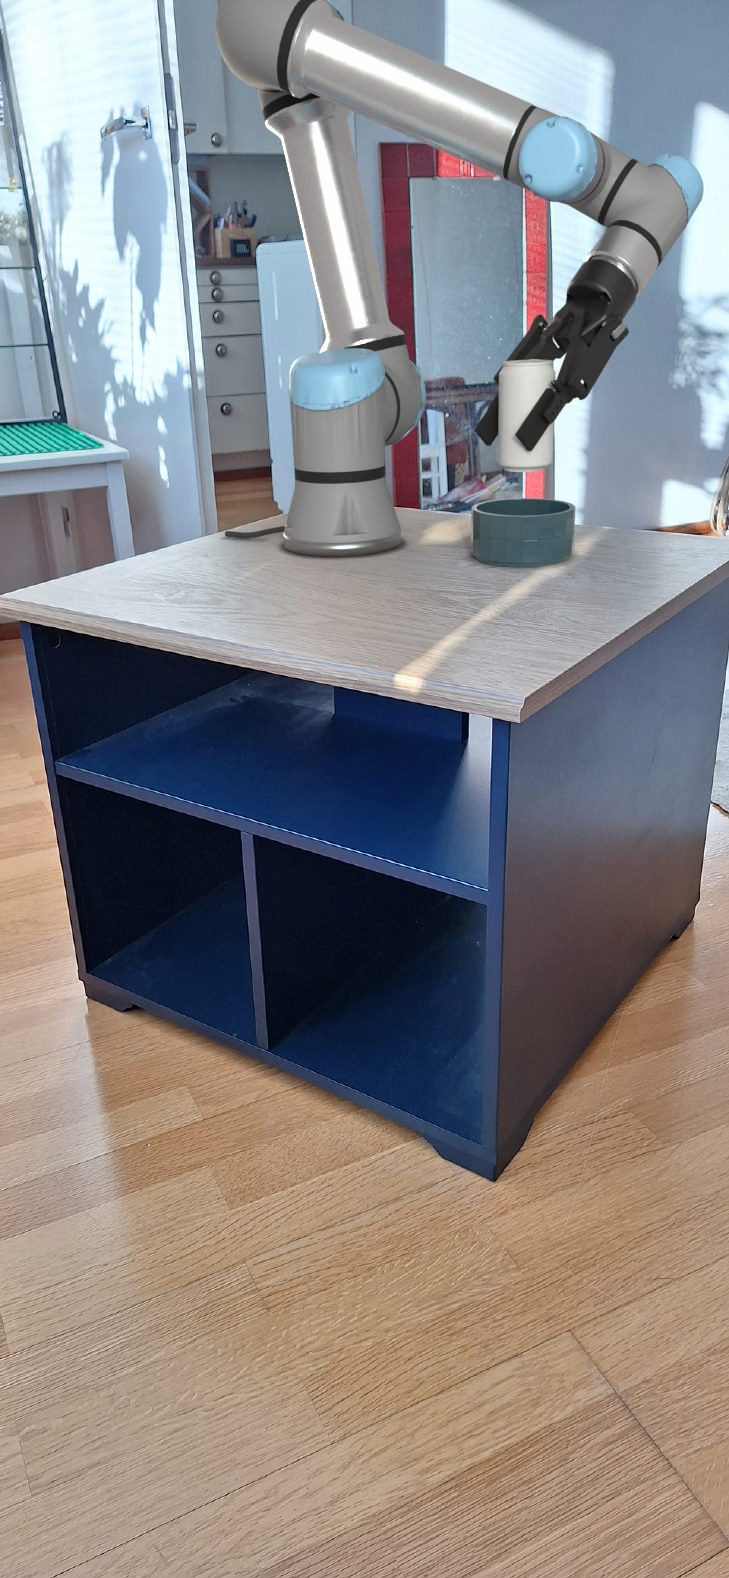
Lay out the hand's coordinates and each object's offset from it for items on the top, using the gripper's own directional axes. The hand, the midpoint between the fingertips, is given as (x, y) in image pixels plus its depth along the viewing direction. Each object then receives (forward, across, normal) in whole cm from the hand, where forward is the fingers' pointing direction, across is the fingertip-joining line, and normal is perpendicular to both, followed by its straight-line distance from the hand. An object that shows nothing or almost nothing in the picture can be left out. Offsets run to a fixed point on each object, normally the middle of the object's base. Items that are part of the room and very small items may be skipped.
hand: (502, 440), depth 128 cm
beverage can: (0, 0, -5) cm, 5 cm away
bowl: (+7, 0, -12) cm, 15 cm away
